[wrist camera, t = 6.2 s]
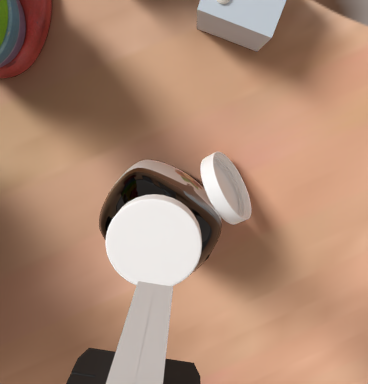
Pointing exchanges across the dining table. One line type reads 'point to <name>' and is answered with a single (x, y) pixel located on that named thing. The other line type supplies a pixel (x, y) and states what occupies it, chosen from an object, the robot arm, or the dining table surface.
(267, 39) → the pip block three
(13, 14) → the stacking bear
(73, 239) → the dining table surface
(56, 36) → the dining table surface
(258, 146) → the dining table surface
